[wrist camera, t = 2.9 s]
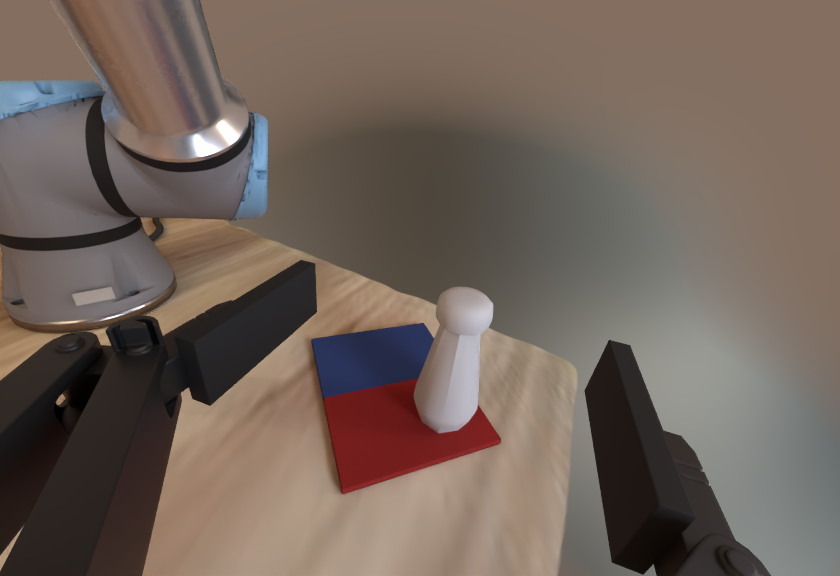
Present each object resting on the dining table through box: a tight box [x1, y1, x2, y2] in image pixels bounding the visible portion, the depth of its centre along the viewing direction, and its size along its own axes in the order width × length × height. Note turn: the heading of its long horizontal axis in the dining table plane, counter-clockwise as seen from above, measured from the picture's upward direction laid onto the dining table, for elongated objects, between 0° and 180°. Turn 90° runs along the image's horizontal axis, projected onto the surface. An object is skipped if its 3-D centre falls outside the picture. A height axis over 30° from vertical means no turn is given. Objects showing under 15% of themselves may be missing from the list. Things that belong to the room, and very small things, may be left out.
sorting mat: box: [312, 323, 501, 494], centre depth 35 cm, size 18×14×1 cm
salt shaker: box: [414, 286, 493, 433], centre depth 28 cm, size 6×6×13 cm
